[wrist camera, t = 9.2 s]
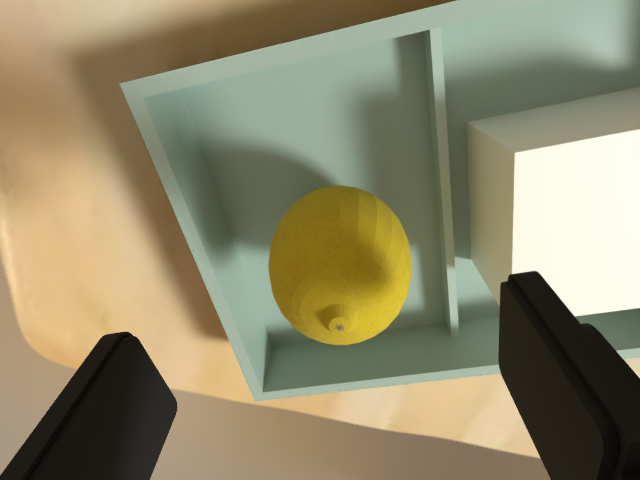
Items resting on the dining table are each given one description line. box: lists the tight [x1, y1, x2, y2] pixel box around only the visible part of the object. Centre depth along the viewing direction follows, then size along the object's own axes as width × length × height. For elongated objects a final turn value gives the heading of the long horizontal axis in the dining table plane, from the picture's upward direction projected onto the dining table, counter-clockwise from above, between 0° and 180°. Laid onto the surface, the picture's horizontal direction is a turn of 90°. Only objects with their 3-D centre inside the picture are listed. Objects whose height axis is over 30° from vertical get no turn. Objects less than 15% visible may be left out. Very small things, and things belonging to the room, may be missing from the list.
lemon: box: [268, 185, 412, 345], centre depth 15 cm, size 6×6×8 cm
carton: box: [466, 87, 640, 316], centre depth 15 cm, size 7×8×5 cm
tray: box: [119, 0, 640, 401], centre depth 17 cm, size 16×22×4 cm
